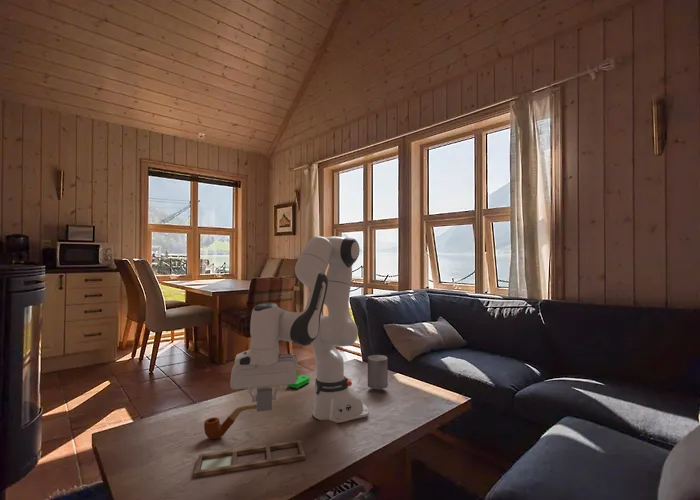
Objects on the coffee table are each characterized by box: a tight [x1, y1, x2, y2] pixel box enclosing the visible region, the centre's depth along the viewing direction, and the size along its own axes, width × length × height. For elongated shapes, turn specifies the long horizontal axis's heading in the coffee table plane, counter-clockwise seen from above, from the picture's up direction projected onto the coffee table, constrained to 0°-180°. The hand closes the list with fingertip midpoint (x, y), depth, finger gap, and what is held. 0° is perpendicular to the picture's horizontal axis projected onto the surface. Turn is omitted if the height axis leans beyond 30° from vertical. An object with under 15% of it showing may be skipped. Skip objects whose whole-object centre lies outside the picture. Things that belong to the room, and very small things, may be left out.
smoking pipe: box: [203, 403, 257, 440], centre depth 128 cm, size 7×18×6 cm
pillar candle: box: [367, 354, 389, 390], centre depth 175 cm, size 10×10×15 cm
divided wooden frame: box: [193, 439, 306, 478], centre depth 112 cm, size 32×10×1 cm, turn 106°
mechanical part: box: [286, 369, 310, 389], centre depth 179 cm, size 12×6×8 cm, turn 151°
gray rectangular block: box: [255, 386, 273, 412], centre depth 113 cm, size 4×4×6 cm
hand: (263, 400), depth 113 cm, fingers closed on gray rectangular block, 4 cm apart
